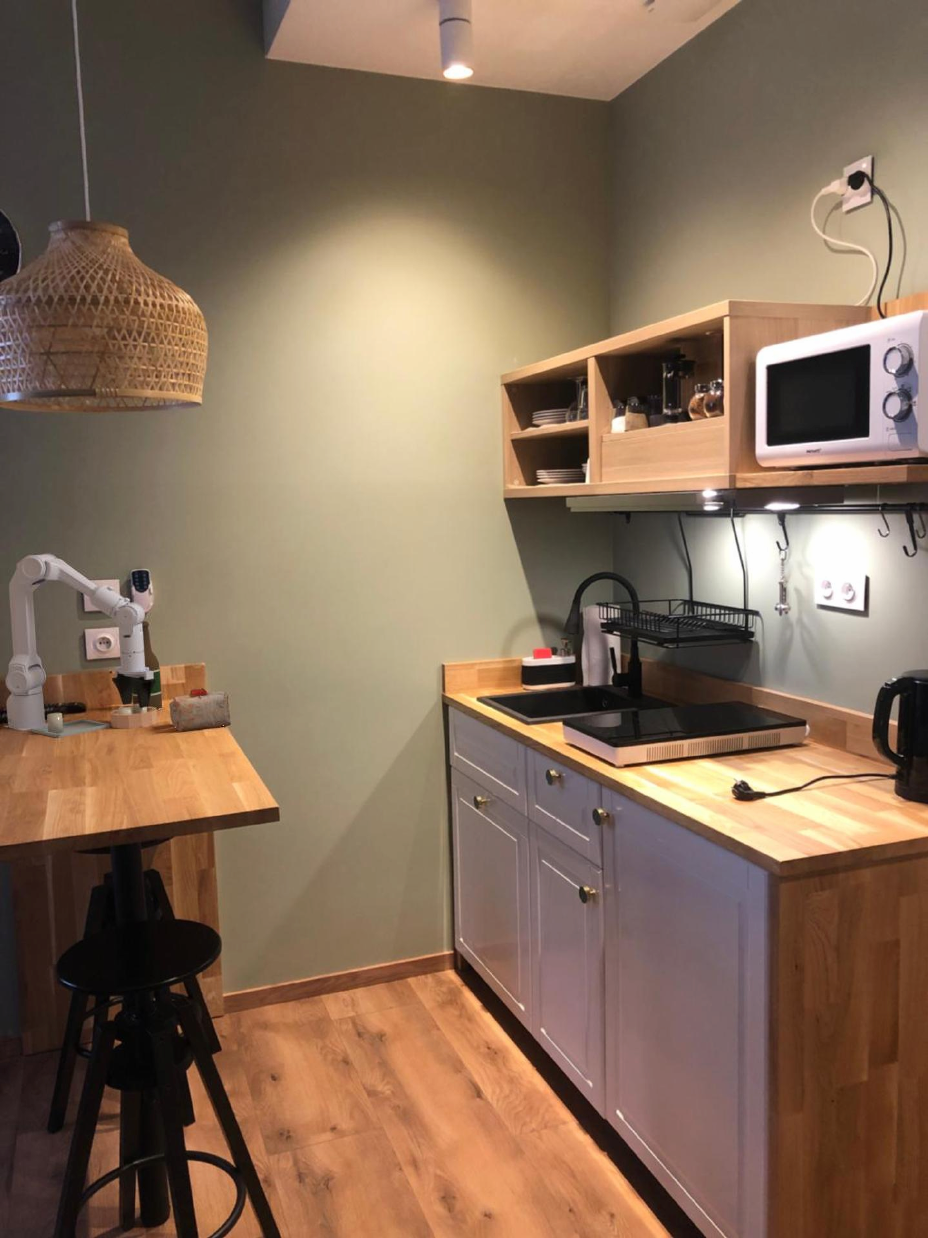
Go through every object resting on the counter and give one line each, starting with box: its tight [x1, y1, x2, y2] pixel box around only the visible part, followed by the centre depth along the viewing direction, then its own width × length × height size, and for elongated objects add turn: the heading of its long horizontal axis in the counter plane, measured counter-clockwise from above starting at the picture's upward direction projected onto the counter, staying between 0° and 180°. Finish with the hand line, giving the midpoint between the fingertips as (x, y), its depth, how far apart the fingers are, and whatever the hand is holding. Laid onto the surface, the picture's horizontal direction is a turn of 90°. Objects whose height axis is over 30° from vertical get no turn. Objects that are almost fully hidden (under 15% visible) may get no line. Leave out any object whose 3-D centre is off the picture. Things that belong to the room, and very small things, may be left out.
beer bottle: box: [132, 620, 163, 711], centre depth 279 cm, size 8×8×24 cm
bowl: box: [109, 707, 158, 730], centre depth 259 cm, size 11×11×4 cm
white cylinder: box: [46, 712, 64, 734], centre depth 252 cm, size 3×3×4 cm
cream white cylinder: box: [118, 705, 133, 714], centre depth 258 cm, size 3×3×4 cm
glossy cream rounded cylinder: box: [131, 703, 147, 714], centre depth 260 cm, size 3×3×4 cm
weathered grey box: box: [169, 686, 232, 733], centre depth 254 cm, size 14×8×10 cm, turn 115°
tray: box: [30, 718, 112, 739], centre depth 255 cm, size 13×14×1 cm
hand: (135, 705), depth 260 cm, fingers open, 7 cm apart
